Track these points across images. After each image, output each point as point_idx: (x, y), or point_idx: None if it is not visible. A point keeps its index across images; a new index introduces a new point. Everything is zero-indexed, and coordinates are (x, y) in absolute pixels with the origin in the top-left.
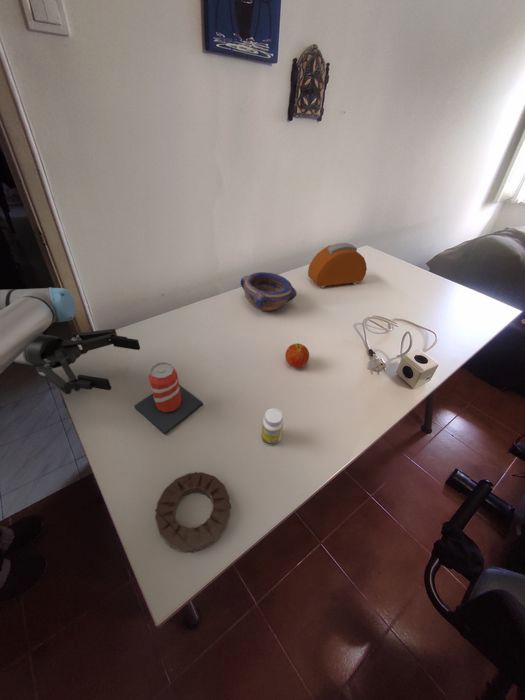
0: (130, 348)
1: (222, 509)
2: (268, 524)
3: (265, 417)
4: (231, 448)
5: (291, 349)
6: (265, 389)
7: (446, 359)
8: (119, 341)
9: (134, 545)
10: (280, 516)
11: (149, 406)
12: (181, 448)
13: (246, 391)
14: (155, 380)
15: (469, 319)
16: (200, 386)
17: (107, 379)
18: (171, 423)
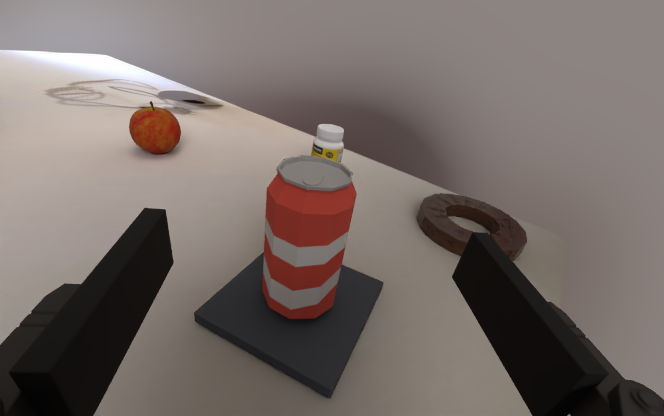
0: (151, 299)
1: (451, 198)
2: (428, 183)
3: (338, 132)
4: (359, 207)
5: (154, 116)
6: (225, 179)
7: (175, 86)
8: (107, 320)
9: (556, 276)
10: (415, 177)
11: (321, 340)
12: (393, 259)
13: (231, 196)
14: (351, 189)
15: (103, 65)
16: (216, 258)
17: (475, 234)
18: (355, 276)
